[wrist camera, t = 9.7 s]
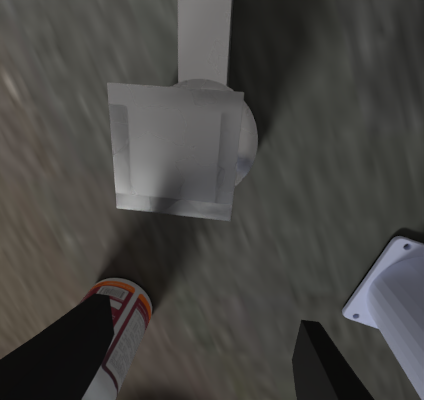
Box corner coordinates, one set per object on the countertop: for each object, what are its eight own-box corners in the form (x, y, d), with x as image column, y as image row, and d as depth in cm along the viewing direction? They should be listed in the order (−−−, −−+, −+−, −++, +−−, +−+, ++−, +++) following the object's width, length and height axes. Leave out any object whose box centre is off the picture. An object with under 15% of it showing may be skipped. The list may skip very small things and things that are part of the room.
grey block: (244, 97, 14) (244, 92, 8) (235, 179, 16) (230, 221, 10) (160, 91, 14) (107, 82, 9) (161, 172, 16) (116, 207, 10)
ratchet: (250, 190, 18) (252, 217, 14) (157, 182, 19) (130, 206, 14) (293, -211, 11) (326, -415, 7) (143, -200, 12) (83, -379, 7)
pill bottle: (80, 296, 24) (-49, 445, 13) (118, 263, 22) (3, 408, 11) (126, 335, 25) (42, 501, 15) (167, 307, 23) (104, 476, 13)
